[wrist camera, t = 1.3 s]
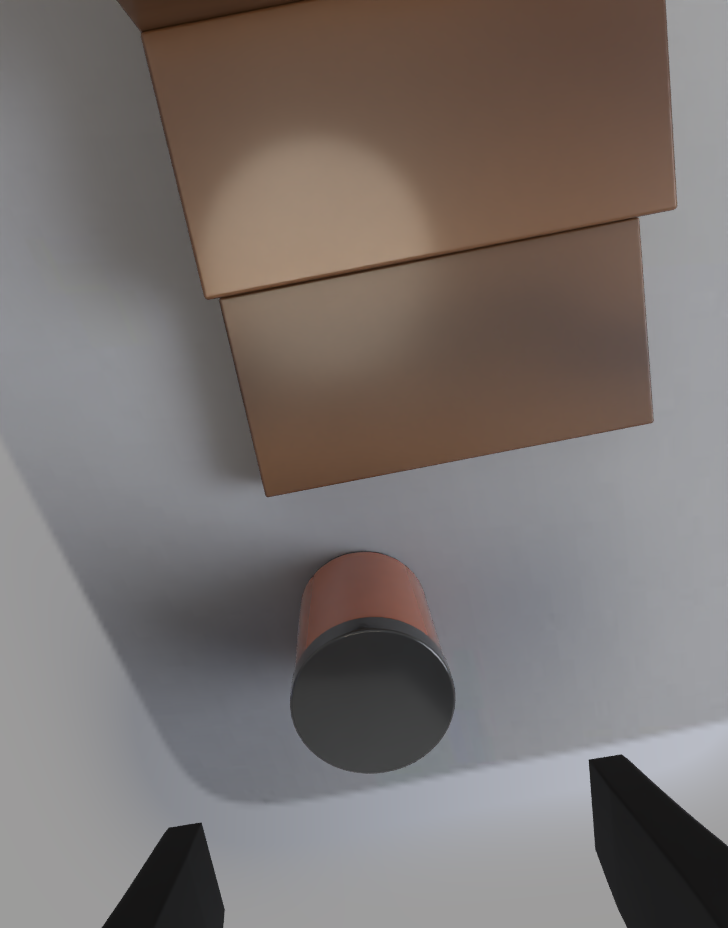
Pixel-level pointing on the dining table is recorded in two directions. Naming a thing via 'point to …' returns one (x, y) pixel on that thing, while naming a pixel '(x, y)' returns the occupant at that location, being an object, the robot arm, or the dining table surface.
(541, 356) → the spice shelf
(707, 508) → the dining table surface
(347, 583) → the spice jar
